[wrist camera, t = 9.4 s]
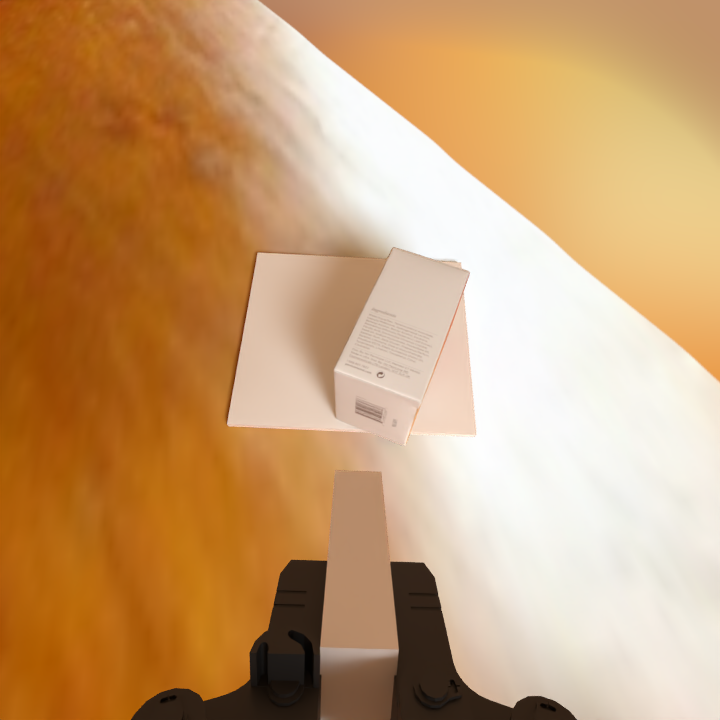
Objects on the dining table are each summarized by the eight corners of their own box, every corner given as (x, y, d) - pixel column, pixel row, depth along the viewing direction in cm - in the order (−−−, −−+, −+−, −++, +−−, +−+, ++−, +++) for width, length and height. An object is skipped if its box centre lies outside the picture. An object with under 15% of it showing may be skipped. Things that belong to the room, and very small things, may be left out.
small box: (421, 405, 26) (472, 268, 31) (329, 370, 27) (393, 242, 32) (406, 448, 33) (449, 332, 38) (333, 420, 34) (385, 309, 39)
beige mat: (258, 256, 42) (257, 252, 41) (459, 266, 42) (460, 262, 41) (228, 426, 34) (226, 423, 34) (474, 437, 34) (476, 434, 34)
